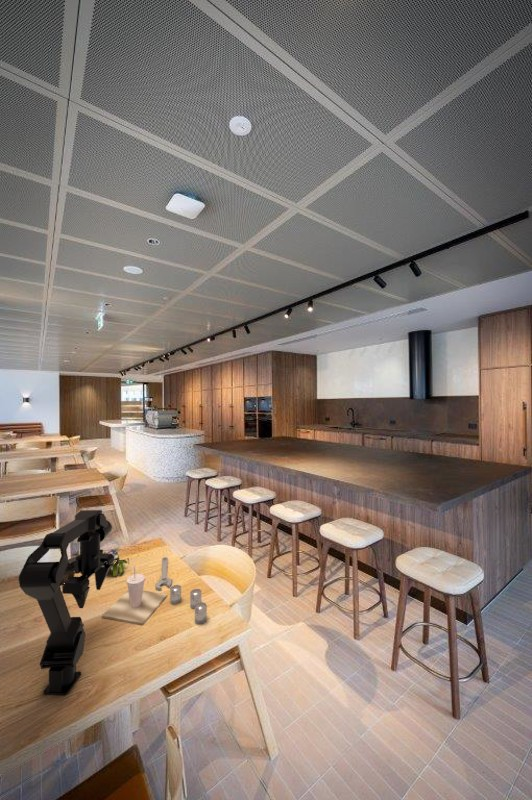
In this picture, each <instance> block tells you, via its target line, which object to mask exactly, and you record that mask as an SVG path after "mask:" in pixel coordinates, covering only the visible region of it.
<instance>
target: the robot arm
mask: <svg viewBox="0 0 532 800" xmlns="http://www.w3.org/2000/svg"><path fill="white" fill-rule="evenodd" d="M102 512H103V510H102V509H85V510H84V509H82V510H80V511H78V512H77V513H76V514H75V515H74V519H73V520H72V521H70V522H69V523H67V524H65V525H63V526H61V527H60V528H58V529H56V530H54V531H53V532H49V533H47V534H46V535H45V536H44V538H43V541H41V543H40V545H39V546H38V547H37V548H36V549H35V550H33V552H31V553H30V554H29V556H27V559H26V561H25V563H24V564H23V567H22V569H21V571H20V573H19V576H18V584H19V588H20V589H21V591H22V592H23V593H24V594H25V595H26V596H29V597H31V598H33V599H36V601H37V603H38V605H39V609H40V611H41V613H42V615H43V618H44V620H45V623H46V625H47V628H48V630H49V632H50V633H49V635H48V638H47V639H46V644H45V647H44V650H43V654H42V656H41V659H40V663H39V667H40V669H41V670H44V669H48V684H47V685H46V687H45V688H44V690H43V692H42V694H43V695H44V694H45V695H60V696H61V695H62V696H66V695H68V694H69V692H70V690H71V689H72V688H73V686H75V684H76V682H77V681H78V680H79V678H80V676H81V675H82V671H77V664H78V662H79V660H81V657H82V656H83V654H84V648H85V641H86V639H85V638H86V631H85V628H84V626H85V624H83V620H82V618H81V616H71V614H70V611H69V608H68V606H67V602H66V600H65V597H64V594H68V595H70V594H71V595H72V596H73V598H74V599H75V602H76V603H77V606H78V608H79V609H83V608H85V604H86V600H87V597H88V595H89V592H90V578H91V577H92V576H94V580H95V587H96V591H100V590H101V589H102V586H103V584H104V581H105V579H106V578H107V575H108V573H109V572H110V570H111V566H112V563H113V562H114V556H113V555H112V554H109V553H108V552H106V553H104V549H101V542H103V541H104V540H105V539H106V538H107V537H108V536H109V534H110V533H111V532H112V530H113V525H112V523H111V522H110V520H108V519H107V517H106V516H105V513H102ZM75 540H76V541H77V543H79V554H78V555H77V556H74V557H71V558H69V556H68V551H67V550H68V547H69V545H70V544H71V543H72V542H74V541H75ZM50 550H60V551H59V552H60V555H61V556H60V559H59V561H41V562H39V561H40V560H41V559H42V558H43V557H44V556H45V555H46V554H47V553H49V551H50ZM114 563H115V562H114ZM71 572H75V574H74V575H78V574H80V576H74V577H71V578H70V579H68V581H67V582H66V583H65V584H62V586H60V585H61V584H60V583H61V581H62V579H63V577H64V575H67V574H68V573H71Z"/></svg>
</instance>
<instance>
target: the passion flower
mask: <svg viewBox="0 0 532 800" xmlns="http://www.w3.org/2000/svg"><path fill="white" fill-rule="evenodd" d="M118 551H119V547H115V548H113V549H111V550H109V551H107V552H106V551H103V553H109V554H112V555H113V556H114V562H113V563H112V566H111V567H110V570H111V571H112V576H113V577H114V578H117V577H118V576H117V575H118V572H119V575H121V574H122V573H123V572H124V571H125V567H126V565H125V564H128V565H129V564H130V557H128V558H124V559H120V555H119V552H118ZM118 568H119V569H118Z"/></svg>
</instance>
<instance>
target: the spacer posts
mask: <svg viewBox="0 0 532 800" xmlns="http://www.w3.org/2000/svg"><path fill="white" fill-rule="evenodd" d="M169 590H170V591H169V603H170V604H171V605H173V606H174V605H175V606H176V605H178V604H180V603H181V602H182V586H181V585H180V584H175V585H171V587H170V588H169ZM189 595H190V596H189V597H190V598H189V599H190V603H189V605H190V609H191V610H194V623H195V624H196V625H203V624H205V623H206V622H207V620H208V619H207V617H208V616H207V615H208V613H207V611H208V606H207V605H208V604H207V603H205V602H202V590H201V589H200V588H194V589H192V590H191V591H190V594H189Z"/></svg>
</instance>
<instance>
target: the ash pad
mask: <svg viewBox="0 0 532 800" xmlns="http://www.w3.org/2000/svg"><path fill="white" fill-rule="evenodd" d="M167 598H168V594H167V593H160V592H157V591H156V592H154V591H148V590H143V594H142V602H141V605H140V606H139V607H137V608H132V607H131V606H130V599H129V592H128V590H127V591H126V593H124V594H123V595H122V596H121V597H120V598H118V600H117V601H116V602H115V603H113V604H112V605H111V607H108V609H107V610H106V611H105V612H104V613H102V615H101V618H102V619H106V620H111V621H117V622H123V623H127V624H128V623H130V624H134V625H139V626H144V625H145V623H146V622H147V621H148V620H149V619H150V617H151V616H152V615H153V614H154V613H155V612H156V610H157V609H158V608H160V606H161V604H162V603H163V602H164V601H165V600H166V599H167ZM148 618H149V619H148ZM147 619H148V620H147Z"/></svg>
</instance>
